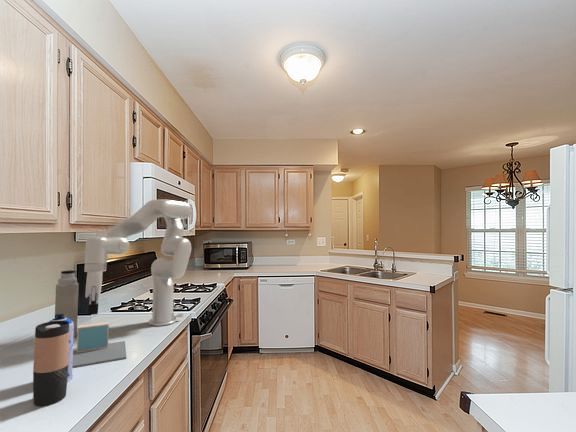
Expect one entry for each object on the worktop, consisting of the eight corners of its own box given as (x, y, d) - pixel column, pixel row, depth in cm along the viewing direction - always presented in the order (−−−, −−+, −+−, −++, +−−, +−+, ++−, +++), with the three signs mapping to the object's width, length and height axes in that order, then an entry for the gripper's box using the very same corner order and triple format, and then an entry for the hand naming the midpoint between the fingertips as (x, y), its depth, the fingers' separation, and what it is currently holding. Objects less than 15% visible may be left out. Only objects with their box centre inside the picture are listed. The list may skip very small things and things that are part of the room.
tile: (108, 345, 123) (108, 322, 123) (108, 348, 120) (108, 324, 120) (77, 349, 118) (78, 325, 118) (76, 352, 115) (77, 328, 116)
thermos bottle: (50, 337, 132) (52, 271, 134) (71, 332, 139) (73, 269, 140) (59, 341, 128) (62, 272, 129) (80, 335, 135) (82, 270, 136)
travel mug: (62, 388, 91) (64, 318, 91) (71, 398, 86) (73, 324, 87) (28, 400, 85) (31, 324, 86) (36, 410, 80) (39, 330, 81)
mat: (124, 342, 128) (125, 340, 128) (126, 358, 112) (126, 356, 112) (58, 352, 117) (58, 350, 117) (49, 371, 101) (49, 369, 101)
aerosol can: (33, 386, 92) (36, 317, 93) (55, 373, 100) (57, 310, 101) (59, 387, 92) (62, 317, 92) (78, 374, 100) (80, 310, 100)
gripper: (86, 266, 131) (83, 310, 130) (82, 269, 118) (79, 319, 117) (106, 265, 134) (104, 309, 133) (106, 269, 121) (103, 317, 120)
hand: (93, 313), depth 125 cm, fingers closed
